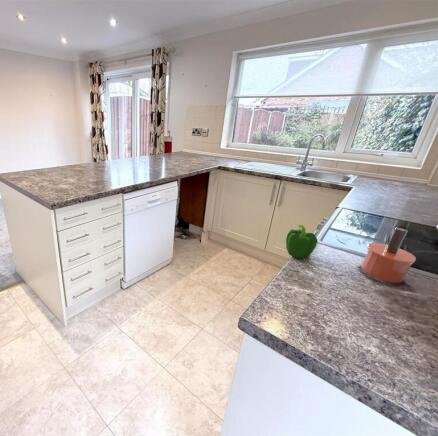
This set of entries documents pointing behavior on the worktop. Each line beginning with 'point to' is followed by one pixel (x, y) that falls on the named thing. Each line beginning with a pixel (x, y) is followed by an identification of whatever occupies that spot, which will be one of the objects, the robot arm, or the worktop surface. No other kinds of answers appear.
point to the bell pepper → (300, 243)
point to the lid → (393, 248)
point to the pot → (384, 268)
